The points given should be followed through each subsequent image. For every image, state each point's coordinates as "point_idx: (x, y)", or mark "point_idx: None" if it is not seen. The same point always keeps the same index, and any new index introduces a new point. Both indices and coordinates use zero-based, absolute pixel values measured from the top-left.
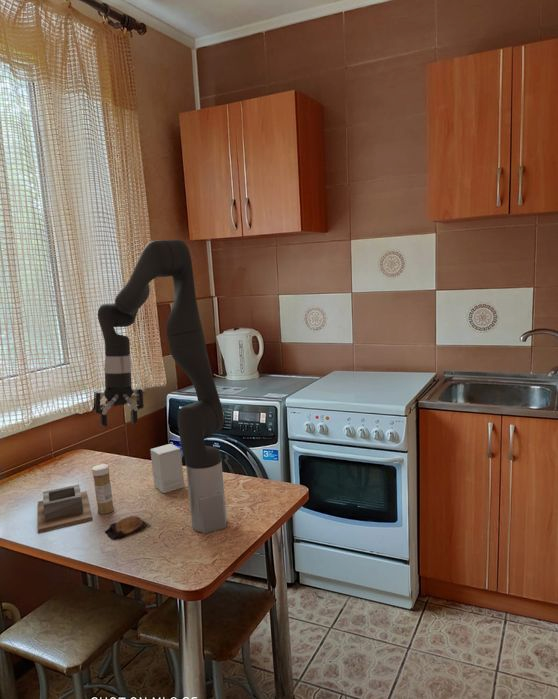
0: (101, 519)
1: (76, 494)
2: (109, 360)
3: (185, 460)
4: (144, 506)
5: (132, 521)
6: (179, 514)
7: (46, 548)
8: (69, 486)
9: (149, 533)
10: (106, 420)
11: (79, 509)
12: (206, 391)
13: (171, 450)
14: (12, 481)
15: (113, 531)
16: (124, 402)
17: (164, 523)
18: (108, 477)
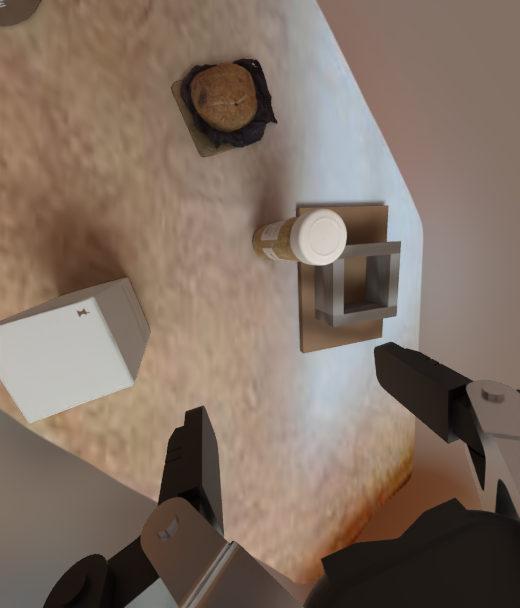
0: (279, 201)
1: (341, 265)
2: None
3: None
4: (182, 220)
5: (218, 71)
6: (84, 108)
7: (374, 125)
8: (351, 323)
9: (176, 41)
10: (410, 363)
11: None
12: None
13: (25, 323)
14: (405, 453)
15: (260, 99)
16: (349, 597)
17: (133, 76)
18: (287, 227)
